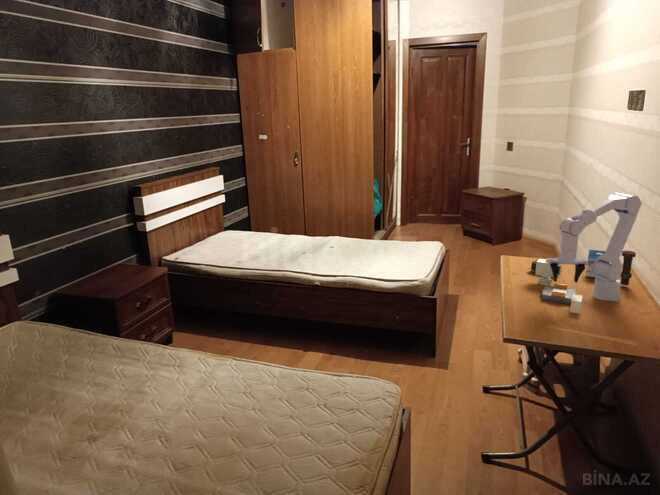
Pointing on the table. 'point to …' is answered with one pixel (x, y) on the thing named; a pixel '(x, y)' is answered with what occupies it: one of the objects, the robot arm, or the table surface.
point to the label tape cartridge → (592, 261)
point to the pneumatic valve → (544, 271)
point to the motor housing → (558, 293)
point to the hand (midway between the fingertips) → (565, 281)
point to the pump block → (576, 304)
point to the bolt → (627, 266)
